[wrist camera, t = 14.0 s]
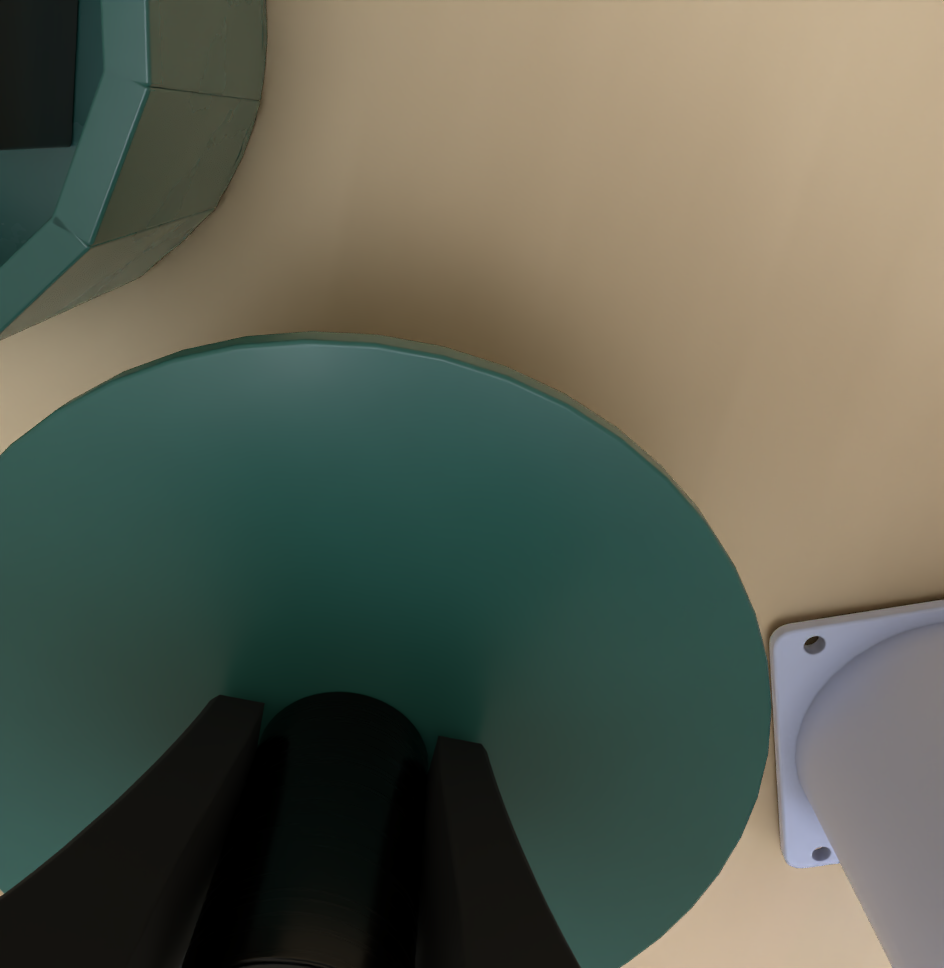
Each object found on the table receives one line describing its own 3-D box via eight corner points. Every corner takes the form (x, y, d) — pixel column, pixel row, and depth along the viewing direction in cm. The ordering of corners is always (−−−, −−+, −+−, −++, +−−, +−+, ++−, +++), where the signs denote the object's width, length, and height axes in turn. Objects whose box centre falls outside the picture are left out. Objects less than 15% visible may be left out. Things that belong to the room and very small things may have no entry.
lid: (918, 578, 12) (1209, 872, 7) (497, 1056, 16) (508, 1442, 11) (113, 131, 10) (-230, 134, 5) (-137, 824, 14) (-454, 1187, 9)
